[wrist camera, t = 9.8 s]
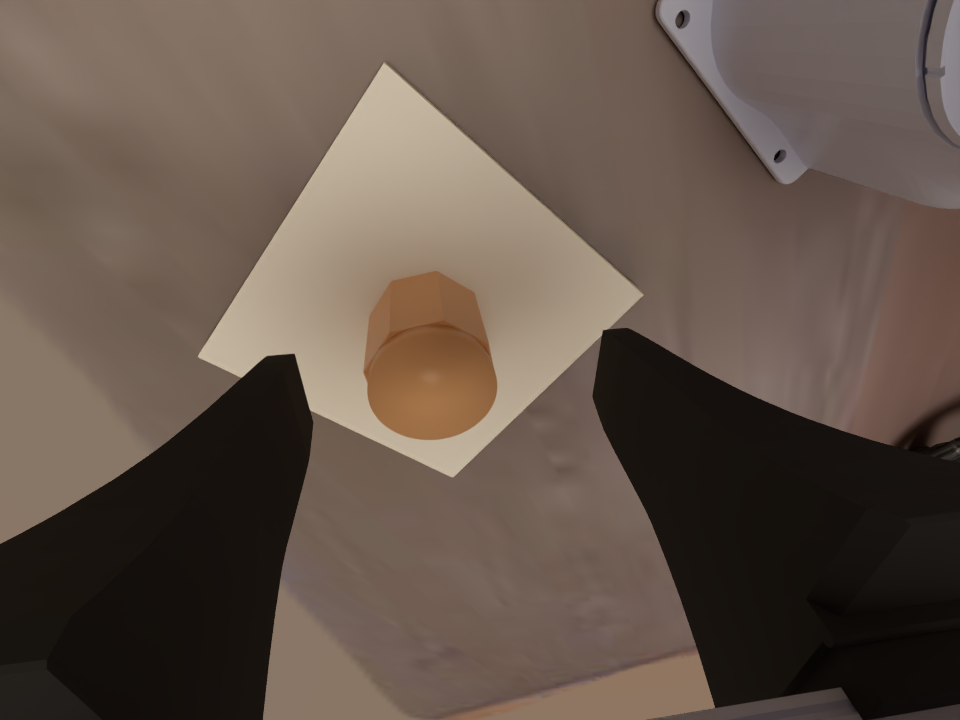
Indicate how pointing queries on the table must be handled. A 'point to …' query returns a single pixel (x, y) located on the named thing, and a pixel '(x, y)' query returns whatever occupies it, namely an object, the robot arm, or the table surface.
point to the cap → (428, 359)
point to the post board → (418, 269)
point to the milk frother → (943, 450)
